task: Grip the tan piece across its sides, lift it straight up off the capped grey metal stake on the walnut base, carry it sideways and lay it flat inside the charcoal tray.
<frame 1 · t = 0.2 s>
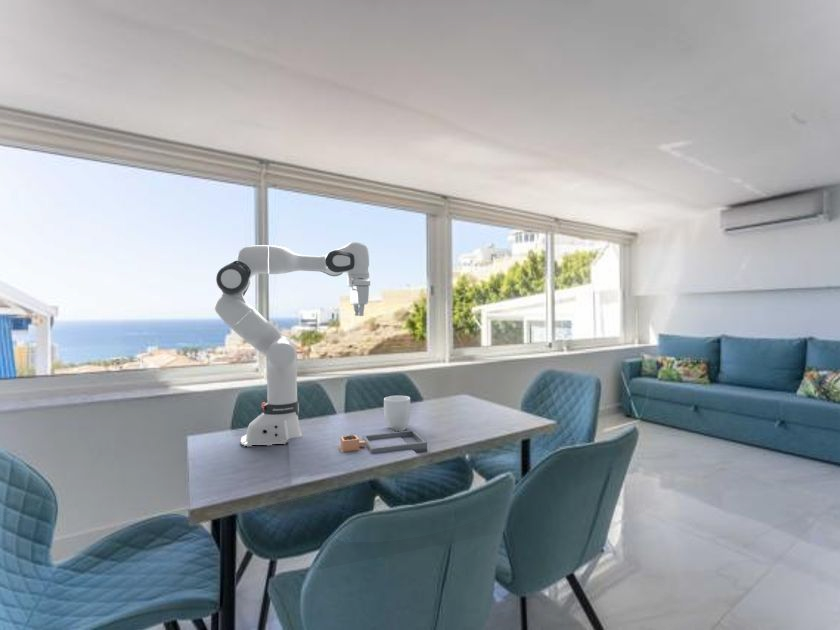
hand: (358, 315, 176), 47 cm above the table, tool pointing down, fingers open, 8 cm apart
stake: (349, 452, 150), on the table
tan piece: (349, 448, 150), point 1 cm above the table, touching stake
mug: (398, 429, 178), on the table
tray: (393, 447, 155), on the table
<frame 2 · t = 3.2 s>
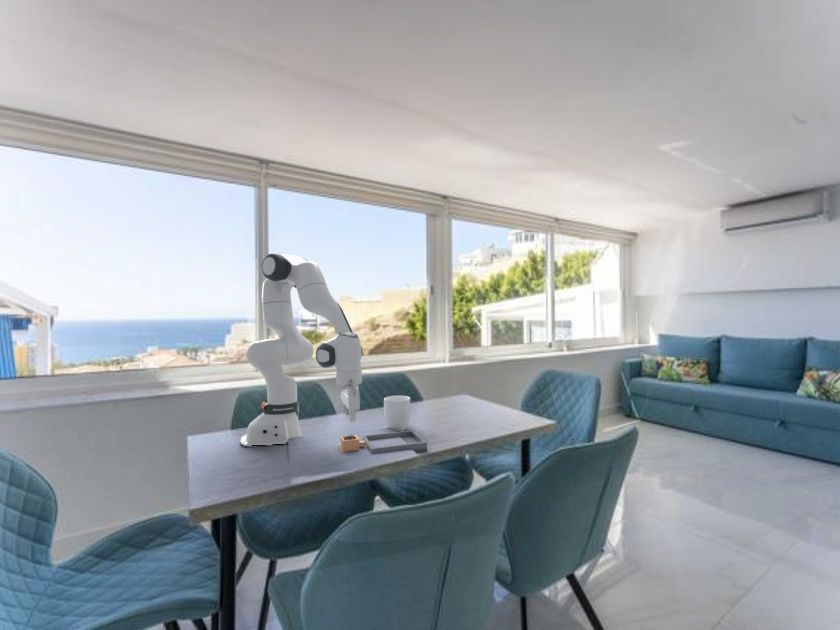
hand: (350, 417, 149), 12 cm above the table, tool pointing down, fingers open, 8 cm apart
nothing on the table moved.
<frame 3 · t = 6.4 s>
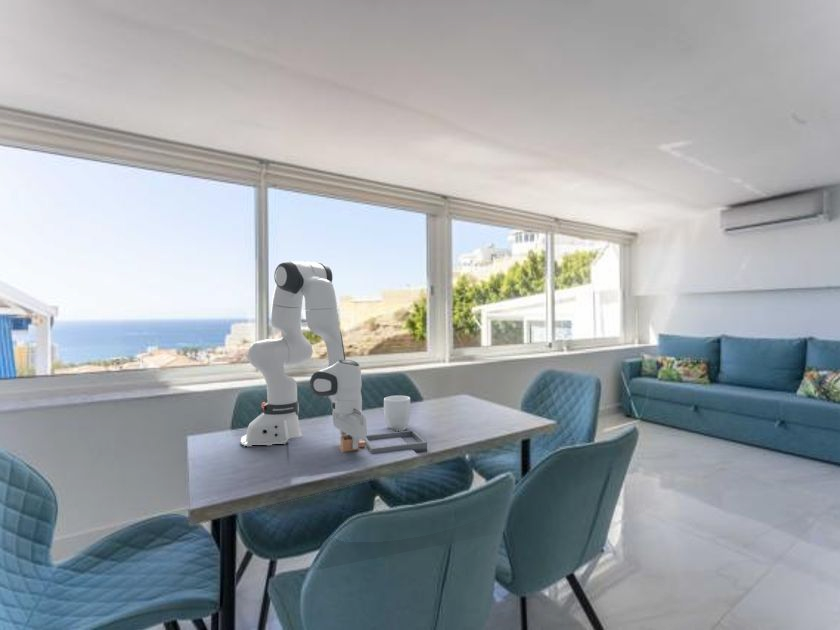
hand: (349, 445, 150), 2 cm above the table, tool pointing down, fingers closed on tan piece, 6 cm apart
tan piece: (349, 448, 150), point 1 cm above the table, touching gripper, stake
everything else where it was.
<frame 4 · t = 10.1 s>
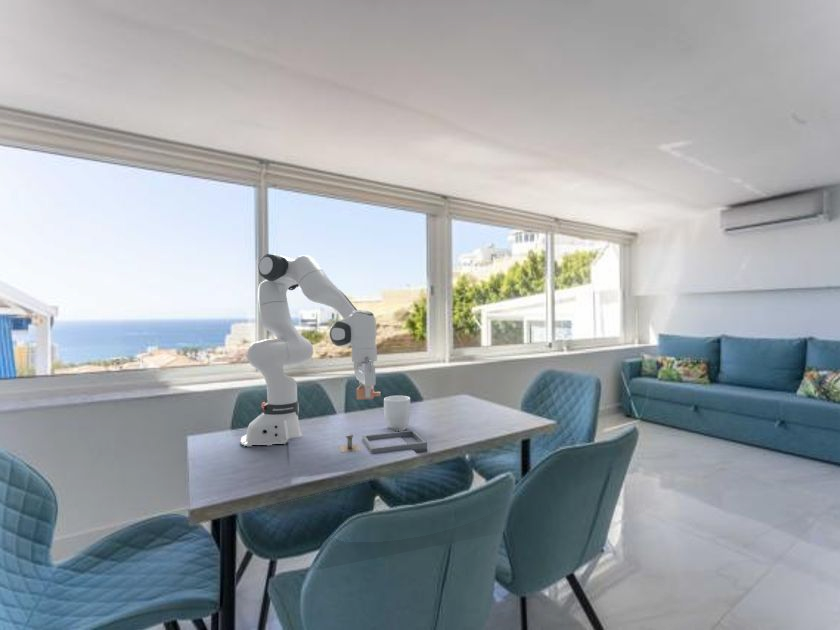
hand: (365, 395, 151), 20 cm above the table, tool pointing down, fingers closed on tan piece, 6 cm apart
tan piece: (365, 397, 151), point 19 cm above the table, touching gripper
everything else where it was.
when the fingers open (4 cm above the table, at t = 14.2 s): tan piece drops 2 cm, resting on tray.
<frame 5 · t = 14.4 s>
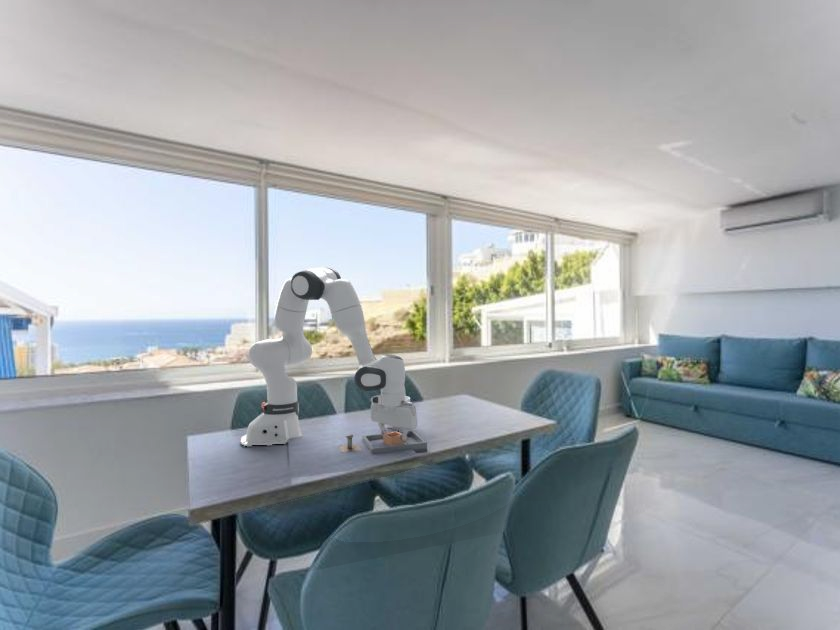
hand: (393, 437, 155), 4 cm above the table, tool pointing down, fingers open, 8 cm apart
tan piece: (393, 444, 155), point 1 cm above the table, touching tray
everything else where it was.
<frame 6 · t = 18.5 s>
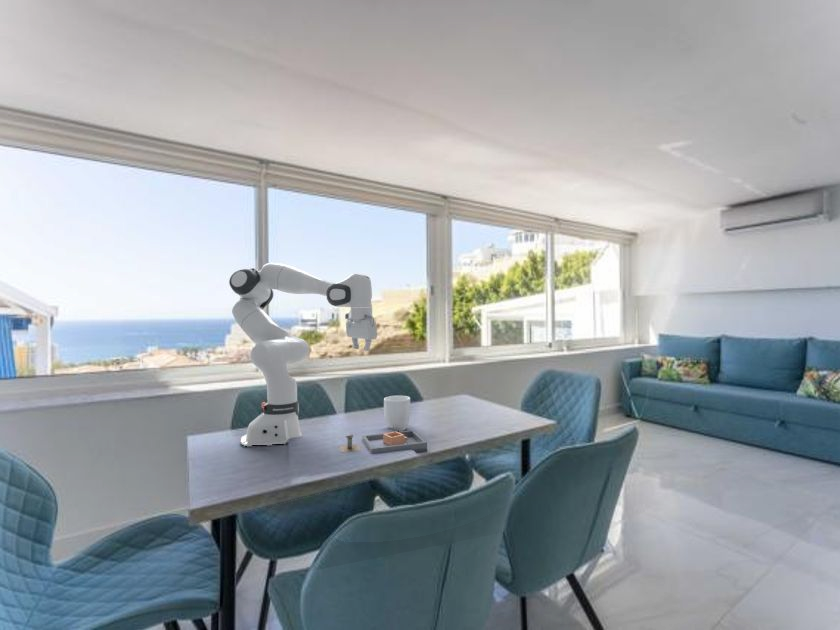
hand: (361, 349, 169), 34 cm above the table, tool pointing down, fingers open, 8 cm apart
nothing on the table moved.
at the end: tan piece inside the target area on the tray (0.5 cm from its centre), point 1.0 cm above the tray's base; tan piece tilted 0°; the gripper is holding nothing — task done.
